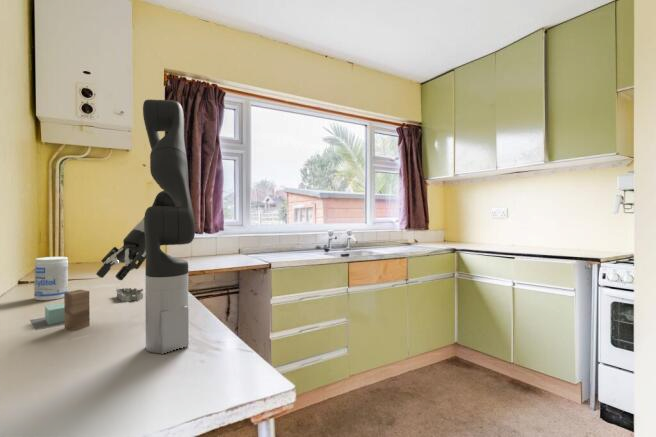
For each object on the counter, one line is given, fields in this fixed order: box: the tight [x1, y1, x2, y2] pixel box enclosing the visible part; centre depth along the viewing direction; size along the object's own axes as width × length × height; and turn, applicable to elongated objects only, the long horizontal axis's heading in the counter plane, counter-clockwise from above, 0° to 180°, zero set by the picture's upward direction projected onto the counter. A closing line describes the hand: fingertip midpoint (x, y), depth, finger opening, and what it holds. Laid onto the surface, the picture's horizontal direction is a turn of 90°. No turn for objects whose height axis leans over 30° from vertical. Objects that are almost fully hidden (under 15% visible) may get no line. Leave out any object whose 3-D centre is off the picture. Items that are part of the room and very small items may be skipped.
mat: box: [29, 316, 65, 331], centre depth 99 cm, size 12×12×1 cm
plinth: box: [44, 303, 65, 325], centre depth 98 cm, size 6×6×4 cm
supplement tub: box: [33, 256, 69, 301], centre depth 124 cm, size 10×10×15 cm
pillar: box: [63, 289, 91, 331], centre depth 92 cm, size 4×4×10 cm
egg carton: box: [115, 287, 144, 303], centre depth 124 cm, size 11×8×4 cm
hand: (108, 277), depth 100 cm, fingers open, 8 cm apart
